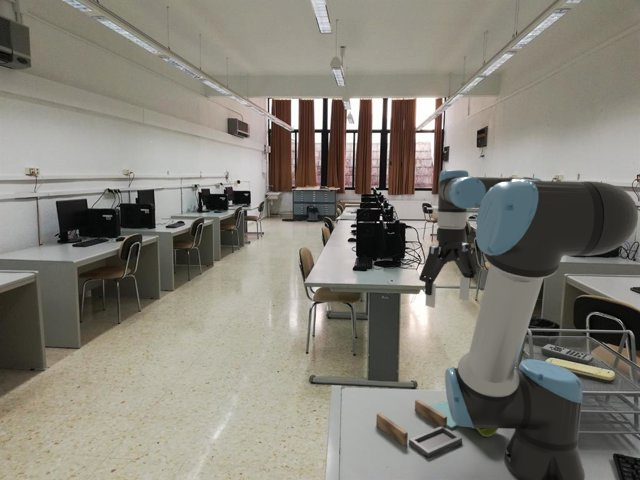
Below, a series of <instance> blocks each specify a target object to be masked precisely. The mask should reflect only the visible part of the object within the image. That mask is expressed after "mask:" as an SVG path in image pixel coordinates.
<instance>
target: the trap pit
mask: <svg viewBox="0 0 640 480" xmlns="http://www.w3.org/2000/svg"><path fill="white" fill-rule="evenodd" d="M462 443H463V437H462V436H460V435H458V434H457V433H455V432H454V431H452V430H451V429H449V428H448V427H447V428H446V427H444V426H443V425H442V426H440V427H439V426H437V427H436V428H433V429H430V430H428V431H425V432H423V433H421V434H418V435H416V436H414V437H411V438H408V445H410V446H411V447H412V448H414V449H415V450H416V451H418V452H419V453H420V454H422V455H423V456H424V457H426V458H427V459H428V458H431V457H433V456H435V455H438V454H440V453H443V452H444V451H447V450H449V449H451V448H453V447H455V446H457V445H460V444H462Z"/></svg>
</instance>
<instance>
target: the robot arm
mask: <svg viewBox="0 0 640 480" xmlns="http://www.w3.org/2000/svg"><path fill="white" fill-rule="evenodd" d="M437 184H438V196H437V198H438V202H437V203H438V204H437V205H438V206H437V226H438V227H437V229H436V241H437V242H438V246H433V245H430V246H429V247H428V248H429V249H428V255H427V257H426V260H425V261H424V262H425V263H424V265H423V267H422V270H421V272H420V275H419V278H418V280H419V281H421V282H423V283H424V294H425V306H426V307H429V308H436V293H437V292H436V290H437V284H436V283H435V281H436V279H437V278H438V276H439V274H440V272H441V271H442V269H443V267H444V266H445V265H446V264H448V263H450V262H454V263H455V264H456V266H457V268H458V269H459V271H460V273H461V275H462V276H460V278H459V279H460V280H459V281H460V282H459V300H462V301H466V302H469V301H470V300H469V299H470V288H471V281H472V279H474V278H475V275H477V272H478V271H477V268H476V266H475V265H476V264H475V261H474V258H473V256H472V252H471V243H467V242H465V241H466V233H467V232H466V229H465V227H467V212H468V211H467V210H469V209H471V210H472V209H473V208H474V209H478V212H477V216H476V220H475V225H476V228H475V239H476V244H477V246H478V248H479V250H480V251H481V252H482V254H483V257H484V259H485V261H486V262H487V264H489V267H488V271H487V275H486V280H485V283H484V288H483V293H482V297H481V300H480V305H479V310H478V313H477V318H476V322H475V326H474V331H473V335H472V338H471V339H472V340H471V343H470V347H469V352H466V353H465V354H463V355H462V356H461V358H459V361H458V363H457V367H454V366H452V367H448V368H447V369H446V370H445V373H444V384H445V391H446V399H447V402H448V405H449V410H450V414H451V417H452V419H453V421H454V422H455V423H456V424H457V425H458V426H459V427H461V428H462V427H463V428H471V429H476V428H498V429H506V430H507V429H509V430H511V429H514V432H513V434H512V435H511V438H510V439H509V442H508V444H507V445H506V448H505V451H504V454H503V455H504V458H503V461H504V465H505V467H506V468H507V470H508V471H509V472H510V473H511V474H512V475H513V476H514V477H515V478H517V479H518V480H586V479H585V478H586V476H585V475H586V474H585V469H584V466H583V462H582V460H581V455H580V451H579V446H578V444H579V431H580V425H581V424H580V423H581V412H582V403H583V402H584V400H583V383H582V381H581V380H580V378H579V377H578V376H577V375H576V374H575V373H574V372H572V371H570V370H569V369H567V368H565V367H562V366H560V365H557V364H554V363H552V362H549V361H544V360H540V359H531V358H529V359H528V358H527V359H524V360H522V361H521V362H520V363H519V365H518V369H516V365H517V362H518V360H519V356H520V353H521V350H522V347H523V344H524V340H525V337H526V334H527V332H528V328H529V326H530V323H531V319H532V315H533V312H534V309H535V307H536V303H537V300H538V297H539V294H540V291H541V287H542V284H543V282H544V279H546V278H549V277H552V276H553V275H554V274H556V273H557V271H558V269H559V266H560V263H561V262H562V258H563V257H564V256H570V257H571V256H575V257H577V256H585V257H586V256H589V257H591V256H596V255H602V254H606V253H608V252H612V251H614V250H616V249H618V248H619V247H621V246H622V245H624V244H625V242H627V241H628V240H629V239H630V238H631V236H632V235H633V234H634V232H635V230H636V229H637V228H636V227H637V226H638V221H639V211H638V208H637V205H636V203H635V200H634V199H633V198H632V196H631V195H630V194H629V193H628V192H627V191H625V190H624V189H622V188H620V187H619V186H616V185H613V184H610V183H608V182H607V183H606V182H601V181H590V180H589V181H569V180H568V181H565V180H564V181H558V180H556V181H555V180H554V181H553V180H552V181H551V180H542V179H540V178H538V177H531V176H530V177H529V176H528V177H527V176H523V177H495V176H494V177H491V176H490V177H488V176H487V177H483V176H481V177H479V176H469V172H468V171H467V170H466V169H465V170H462V169H449V170H448V169H447V170H441V171H440V173H439V180H438V183H437Z"/></svg>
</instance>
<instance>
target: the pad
mask: <svg viewBox="0 0 640 480" xmlns="http://www.w3.org/2000/svg"><path fill="white" fill-rule="evenodd" d="M429 406H430V407H432V408H433V409H435V410H437V411H438V412H440V413H442V414H443V415H445V416H447V429H449V430H451V431H452V430H453V429H456V428H458V427H460V426H458V425H457V424H456V423H455V422H454V421H453V419H452V417H451V414H450V410H449V405H448V401H441V402H437V403H434V404H431V405H429Z"/></svg>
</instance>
